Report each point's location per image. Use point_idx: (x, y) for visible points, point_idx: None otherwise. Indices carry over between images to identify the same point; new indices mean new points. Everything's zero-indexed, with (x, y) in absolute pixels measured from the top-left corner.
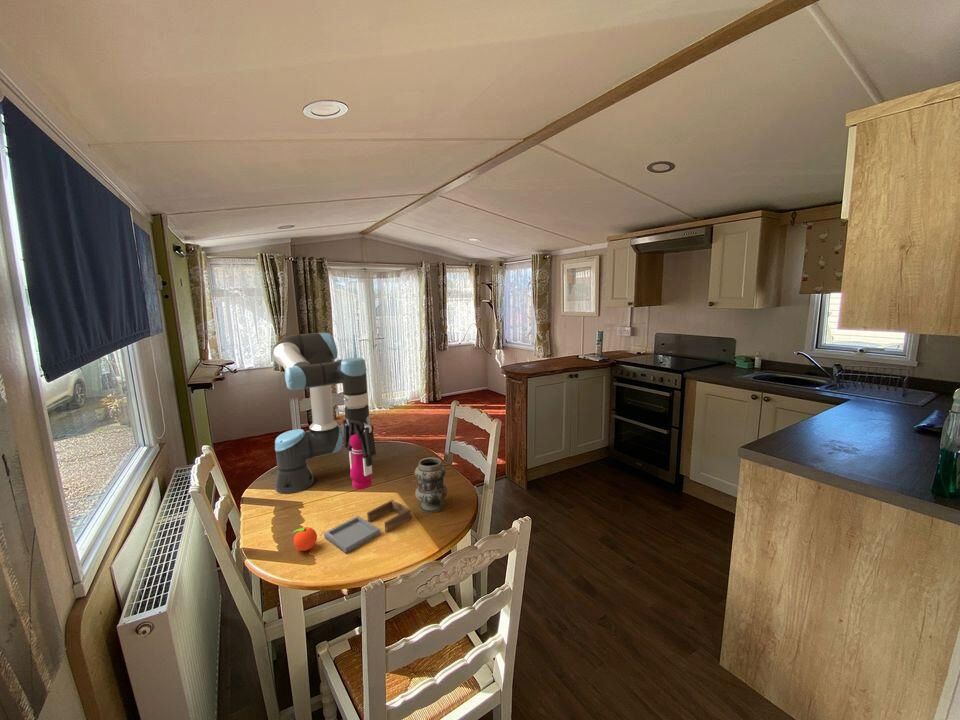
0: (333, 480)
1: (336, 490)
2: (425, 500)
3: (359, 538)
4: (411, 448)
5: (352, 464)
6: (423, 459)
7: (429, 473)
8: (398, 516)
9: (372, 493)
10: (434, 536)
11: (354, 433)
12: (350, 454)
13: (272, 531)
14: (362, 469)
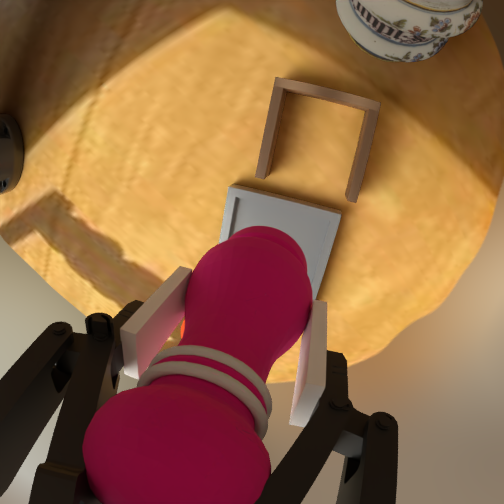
0: (37, 83)
1: (70, 106)
2: (414, 61)
3: (317, 272)
4: None
5: (177, 319)
6: None
7: (460, 18)
8: (368, 155)
9: (159, 53)
10: (477, 164)
11: (92, 497)
12: (145, 366)
13: (106, 297)
14: (284, 352)
